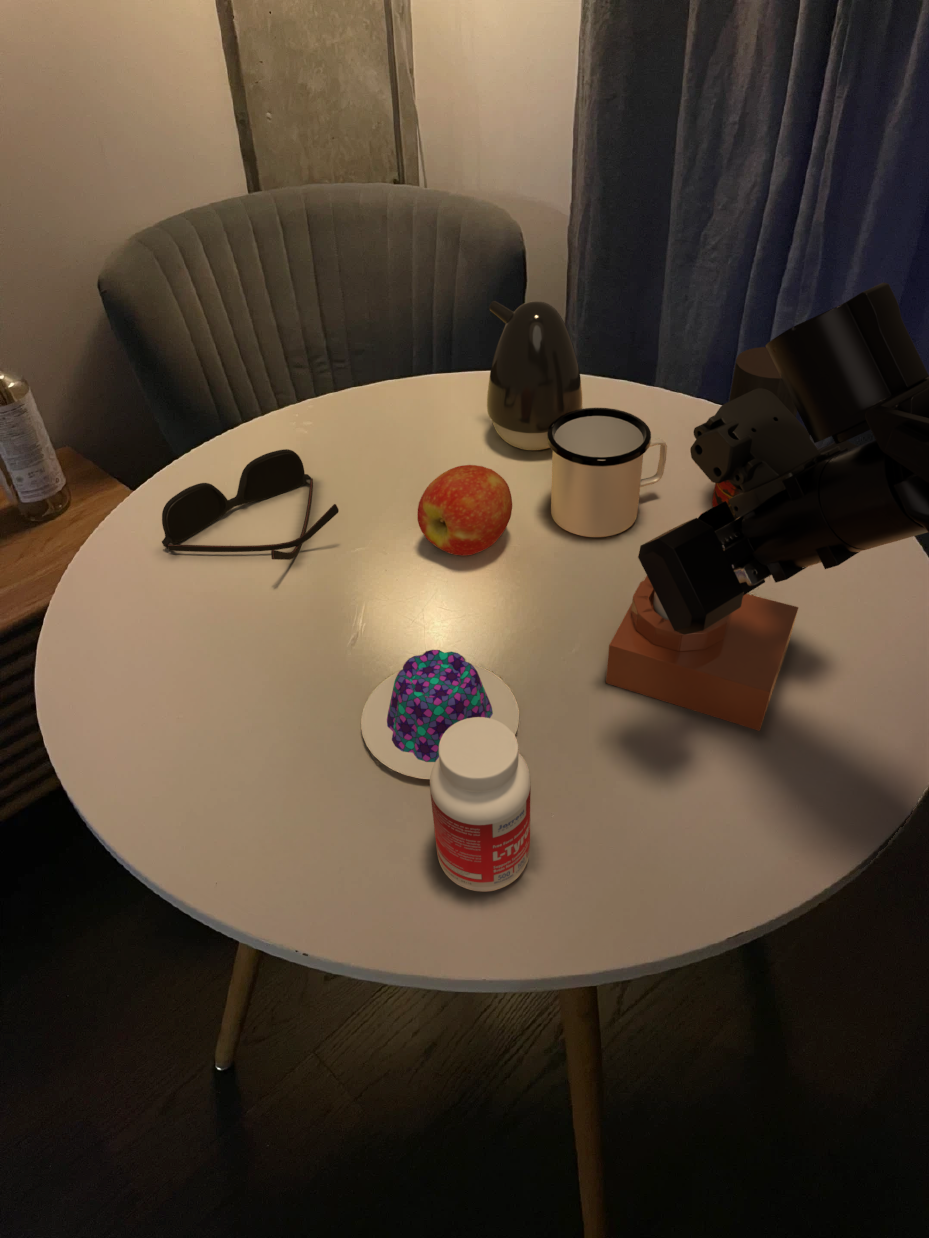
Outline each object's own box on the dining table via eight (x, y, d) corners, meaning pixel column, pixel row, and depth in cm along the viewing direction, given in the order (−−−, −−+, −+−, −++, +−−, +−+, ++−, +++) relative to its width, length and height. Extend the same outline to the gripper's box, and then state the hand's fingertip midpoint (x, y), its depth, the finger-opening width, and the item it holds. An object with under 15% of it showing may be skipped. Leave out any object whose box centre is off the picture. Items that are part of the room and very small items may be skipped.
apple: (408, 548, 84) (400, 477, 79) (467, 508, 88) (463, 438, 83) (471, 582, 80) (467, 509, 75) (529, 538, 84) (529, 466, 79)
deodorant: (781, 522, 84) (815, 377, 74) (718, 524, 85) (744, 379, 75) (767, 487, 89) (797, 346, 79) (706, 489, 89) (729, 348, 79)
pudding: (483, 806, 62) (481, 758, 58) (333, 757, 66) (322, 710, 62) (541, 688, 70) (542, 640, 66) (404, 651, 74) (398, 604, 70)
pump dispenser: (517, 406, 103) (516, 276, 93) (597, 429, 99) (605, 294, 88) (468, 446, 97) (461, 311, 87) (550, 472, 93) (554, 333, 82)
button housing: (788, 645, 72) (803, 589, 68) (759, 731, 66) (774, 674, 62) (645, 606, 76) (652, 551, 72) (605, 683, 70) (610, 627, 66)
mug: (570, 552, 82) (574, 469, 76) (530, 499, 89) (530, 419, 83) (684, 522, 85) (696, 439, 79) (636, 473, 92) (644, 393, 86)
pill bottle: (503, 910, 56) (499, 805, 48) (420, 870, 58) (405, 764, 51) (545, 836, 60) (548, 728, 52) (466, 801, 62) (458, 693, 55)
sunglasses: (233, 615, 78) (221, 570, 75) (158, 544, 86) (143, 501, 83) (384, 534, 86) (379, 491, 83) (302, 476, 94) (294, 435, 91)
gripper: (893, 327, 54) (727, 418, 69) (679, 429, 47) (541, 508, 61) (971, 489, 55) (790, 547, 69) (772, 617, 47) (613, 653, 61)
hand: (688, 559), depth 65 cm, fingers closed
